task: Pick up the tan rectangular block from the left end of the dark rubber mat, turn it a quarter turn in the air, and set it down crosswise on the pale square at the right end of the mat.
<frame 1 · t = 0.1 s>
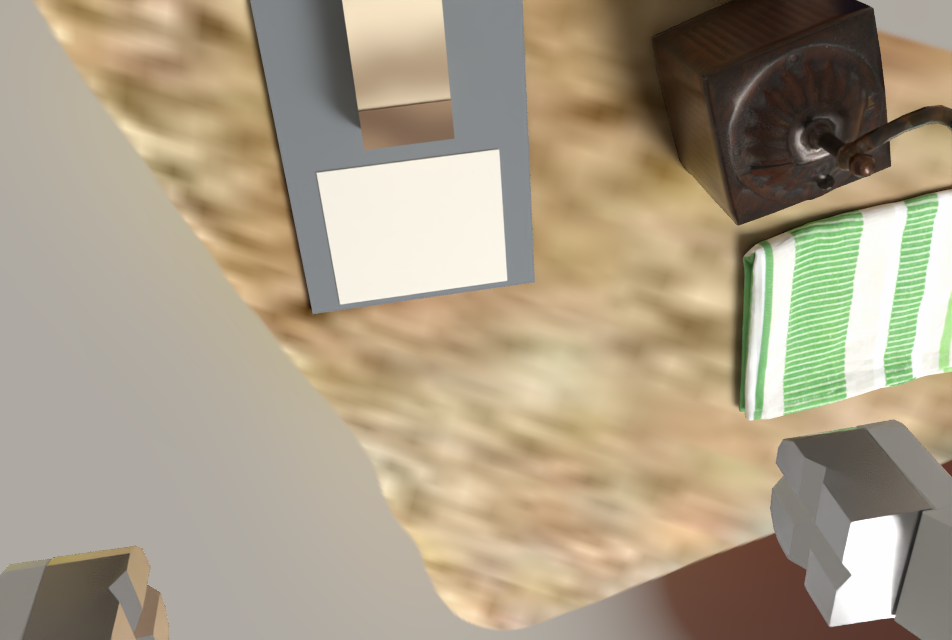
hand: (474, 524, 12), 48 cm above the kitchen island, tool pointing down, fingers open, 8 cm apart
dish towel: (876, 295, 73), on the kitchen island
mat: (406, 143, 59), on the kitchen island
manual coffee grinder: (774, 66, 60), on the kitchen island
tan rectangular block: (395, 53, 55), resting on mat
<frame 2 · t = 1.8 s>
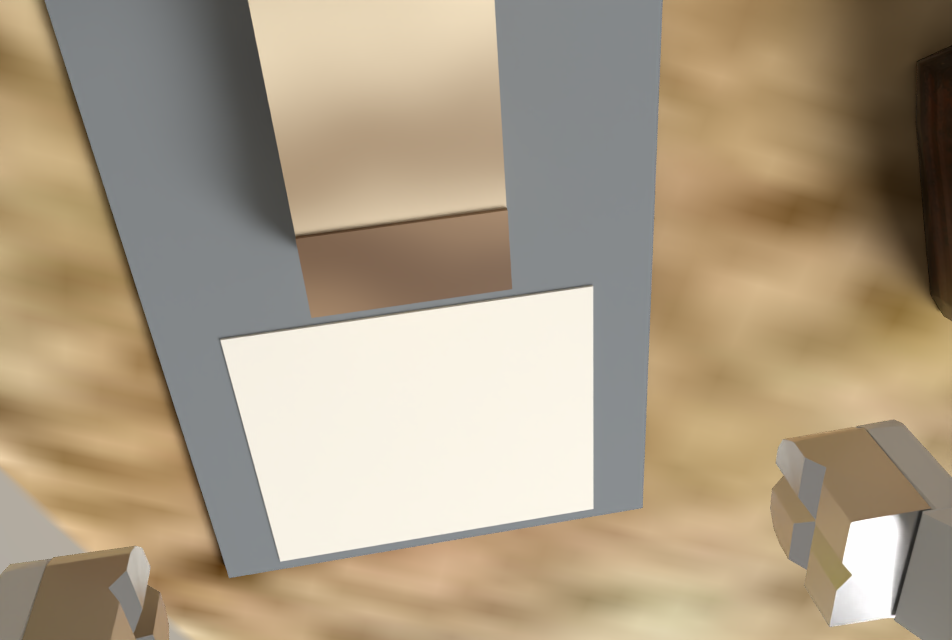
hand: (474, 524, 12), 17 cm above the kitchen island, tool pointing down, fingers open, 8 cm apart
mat: (405, 276, 29), on the kitchen island
tan rectangular block: (382, 99, 25), resting on mat
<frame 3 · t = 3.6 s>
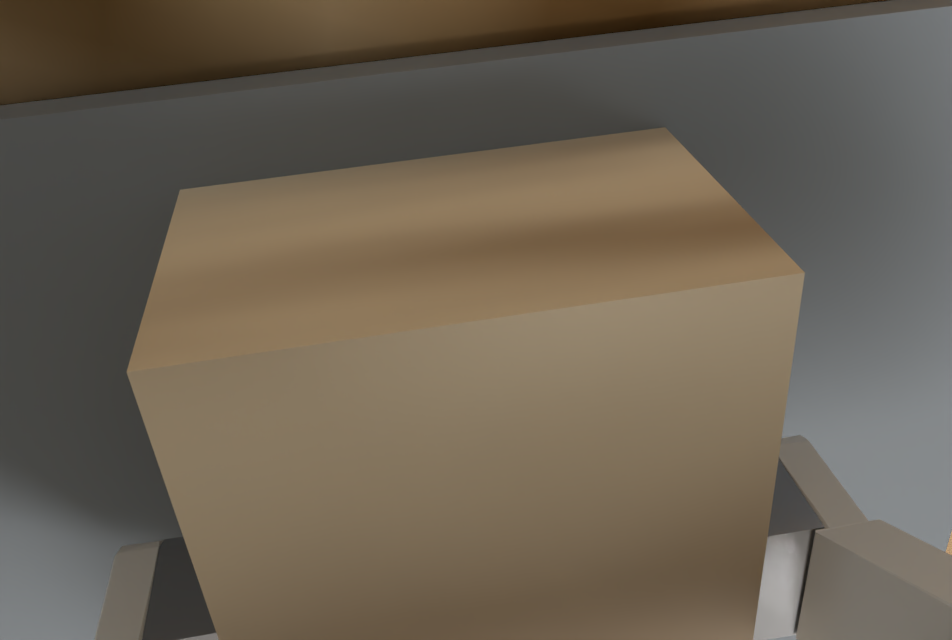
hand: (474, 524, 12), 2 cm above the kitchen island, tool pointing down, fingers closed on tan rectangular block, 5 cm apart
tan rectangular block: (461, 460, 13), resting on mat, touching gripper
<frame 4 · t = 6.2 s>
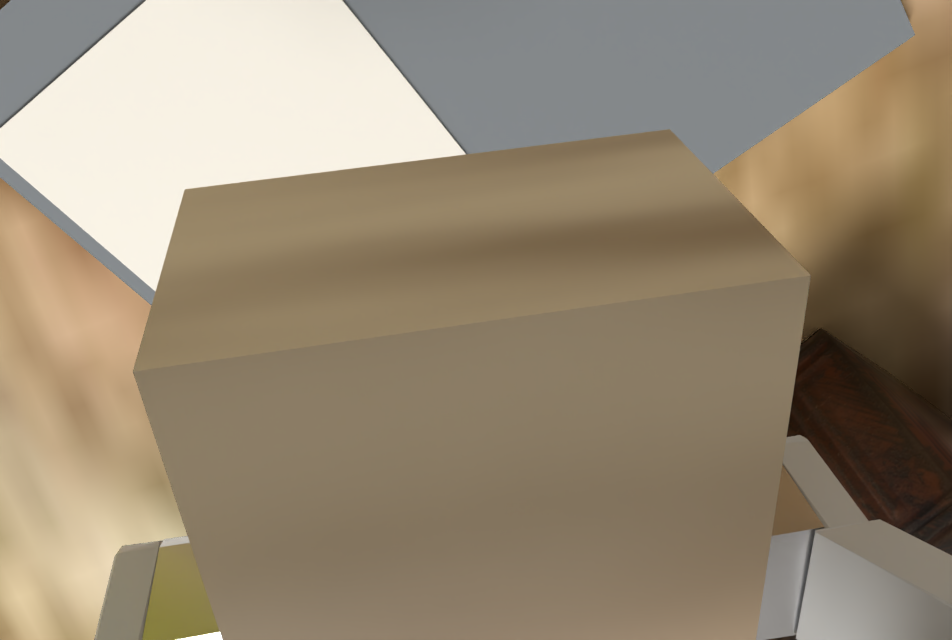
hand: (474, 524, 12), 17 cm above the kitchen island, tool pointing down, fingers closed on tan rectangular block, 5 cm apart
mat: (438, 58, 26), on the kitchen island
manual coffee grinder: (835, 494, 38), on the kitchen island
tan rectangular block: (463, 461, 13), point 16 cm above the kitchen island, touching gripper
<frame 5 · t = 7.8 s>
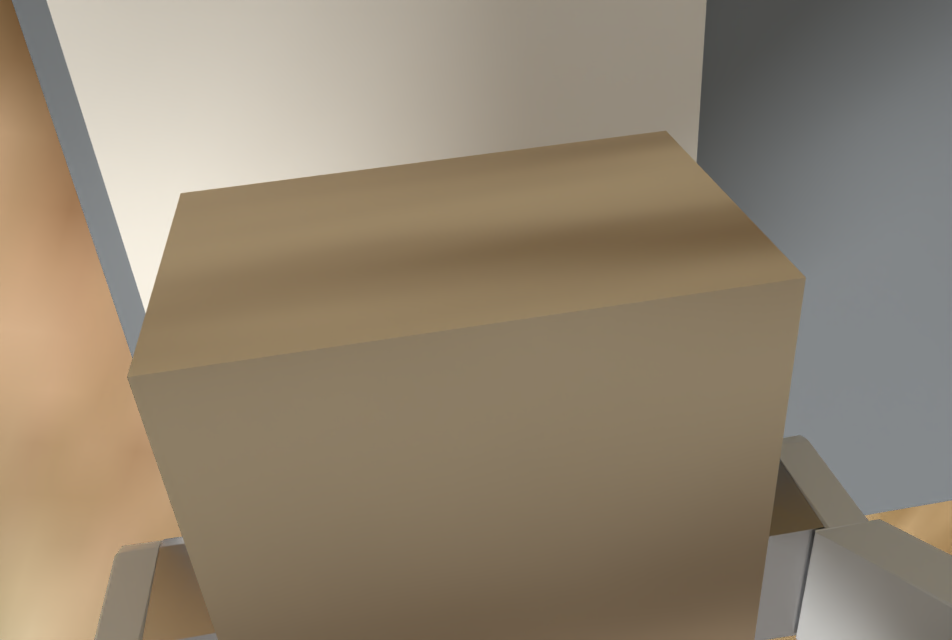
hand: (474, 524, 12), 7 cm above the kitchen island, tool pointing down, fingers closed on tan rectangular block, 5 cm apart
mat: (729, 231, 18), on the kitchen island
tan rectangular block: (461, 463, 13), point 5 cm above the kitchen island, touching gripper
when the fingers open (3 cm above the kitchen island, at t = 9.0 s): tan rectangular block stays where it is, resting on mat.
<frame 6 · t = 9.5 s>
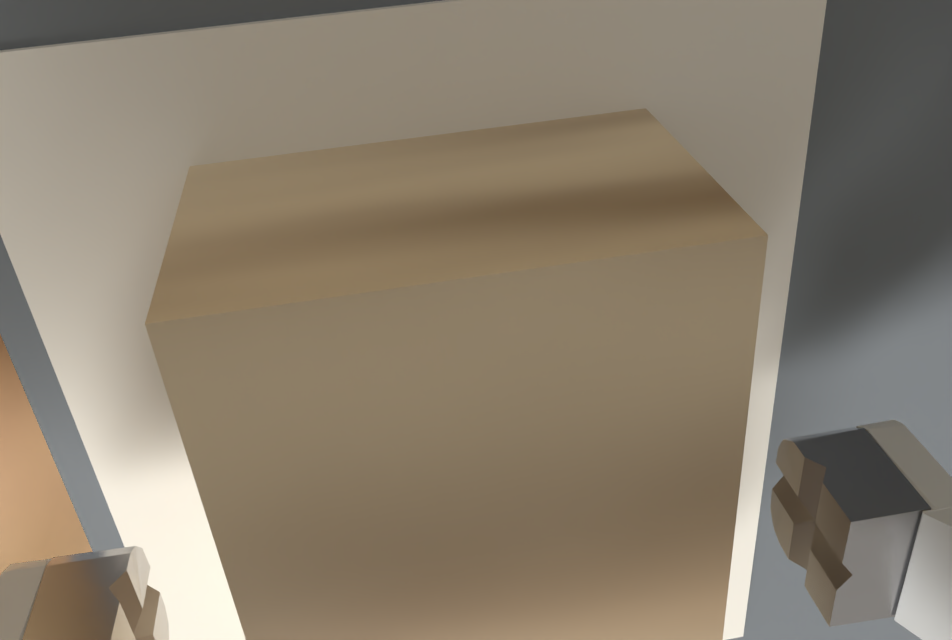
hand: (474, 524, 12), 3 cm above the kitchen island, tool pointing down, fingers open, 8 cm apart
mat: (821, 345, 14), on the kitchen island
tan rectangular block: (455, 429, 13), point 1 cm above the kitchen island, touching mat
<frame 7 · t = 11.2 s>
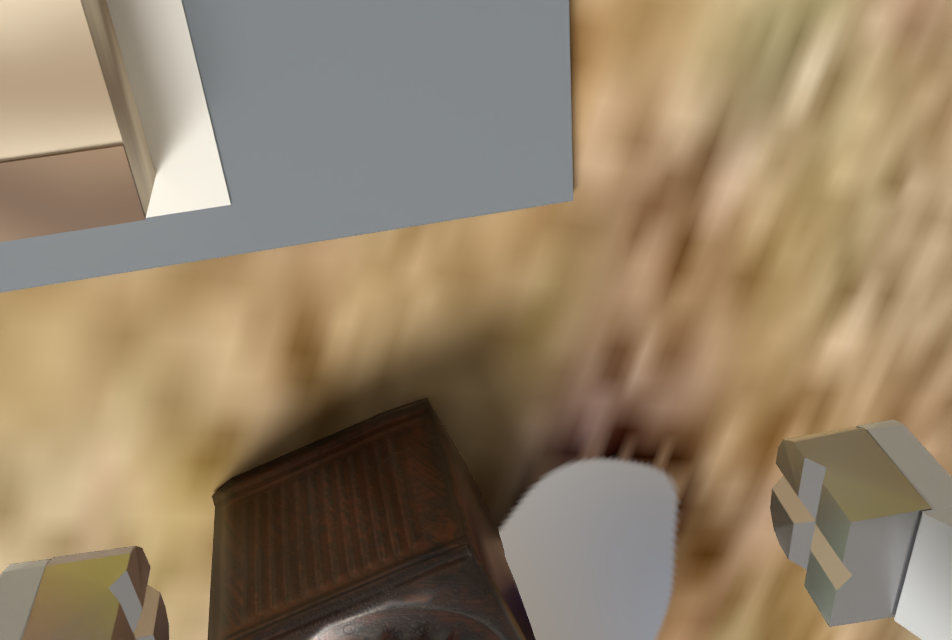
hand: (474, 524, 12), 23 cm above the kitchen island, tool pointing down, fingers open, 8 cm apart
mat: (221, 23, 29), on the kitchen island
manual coffee grinder: (383, 550, 43), on the kitchen island
tan rectangular block: (26, 53, 28), point 1 cm above the kitchen island, touching mat
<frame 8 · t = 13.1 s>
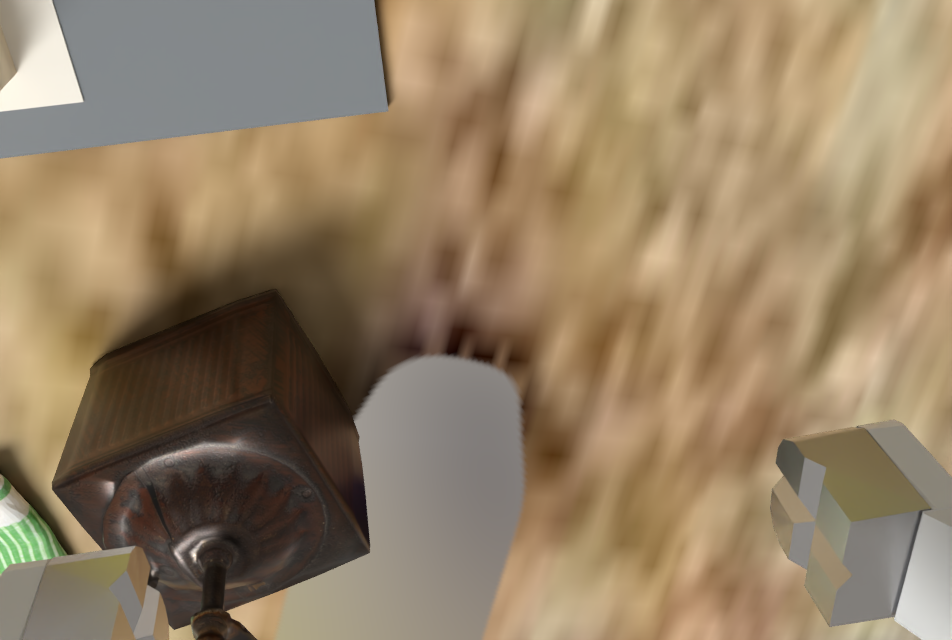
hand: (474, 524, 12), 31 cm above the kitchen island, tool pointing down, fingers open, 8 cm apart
manual coffee grinder: (250, 432, 49), on the kitchen island
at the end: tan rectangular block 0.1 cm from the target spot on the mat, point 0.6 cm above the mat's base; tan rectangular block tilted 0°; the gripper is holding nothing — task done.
